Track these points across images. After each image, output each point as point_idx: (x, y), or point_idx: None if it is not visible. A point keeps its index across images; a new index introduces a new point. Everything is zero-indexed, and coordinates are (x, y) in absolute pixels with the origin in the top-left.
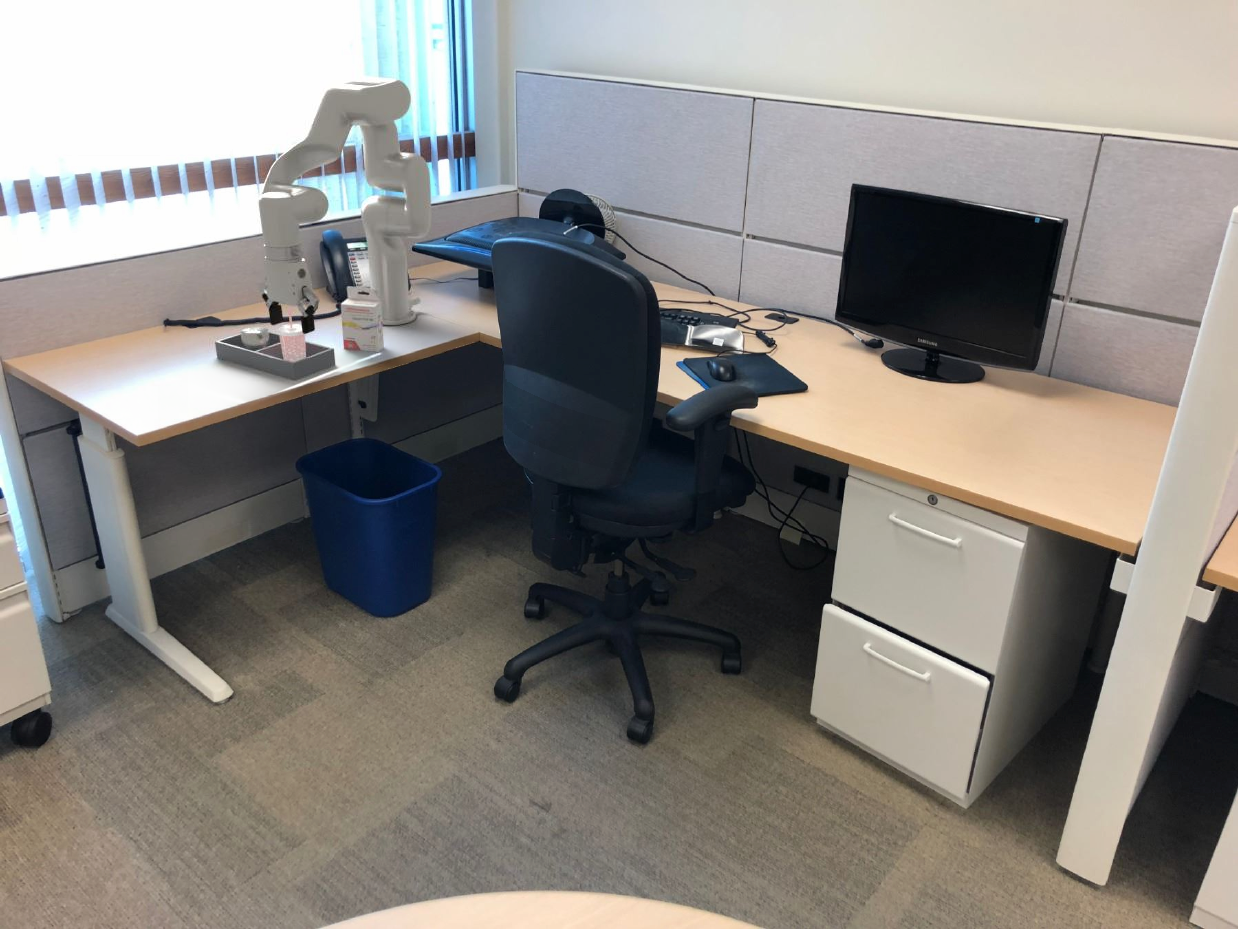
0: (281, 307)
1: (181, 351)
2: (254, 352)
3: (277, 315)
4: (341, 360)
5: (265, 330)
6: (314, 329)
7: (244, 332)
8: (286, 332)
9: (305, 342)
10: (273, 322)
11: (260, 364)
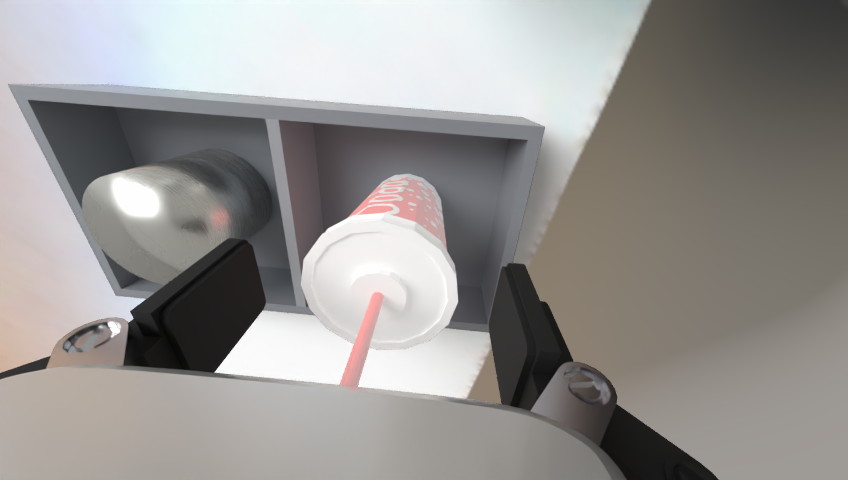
0: (177, 302)
1: (40, 255)
2: (307, 313)
3: (229, 307)
4: (496, 26)
5: (167, 202)
6: (523, 267)
7: (143, 267)
8: (407, 345)
9: (359, 125)
10: (258, 313)
11: None
